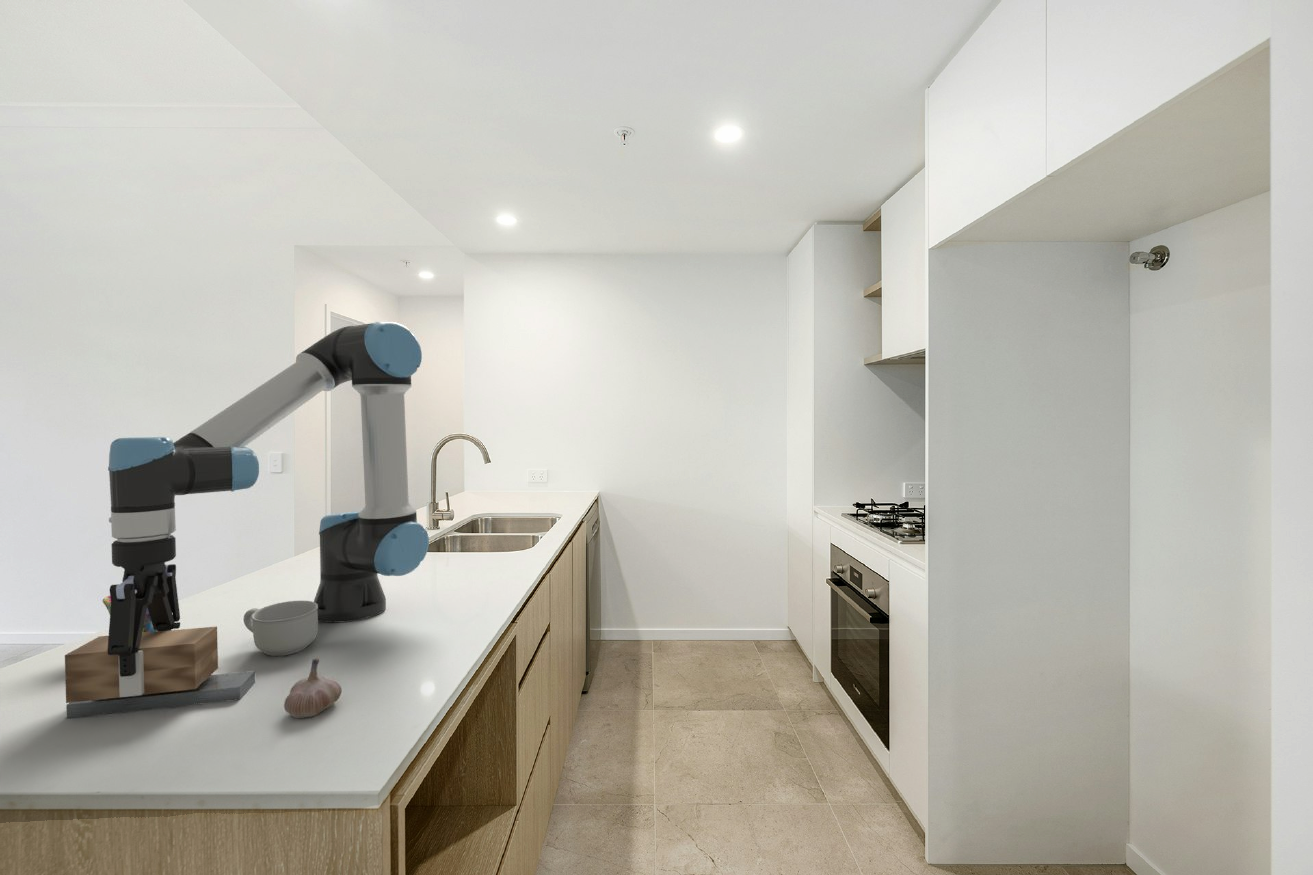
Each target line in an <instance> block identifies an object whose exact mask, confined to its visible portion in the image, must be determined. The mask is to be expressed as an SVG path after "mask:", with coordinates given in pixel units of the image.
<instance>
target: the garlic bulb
mask: <svg viewBox="0 0 1313 875" xmlns="http://www.w3.org/2000/svg"><path fill="white" fill-rule="evenodd" d="M319 663H320V658H319V657H313V658H312V660H311V666H310V671H309V675H307V677H306V676H305V677H304V678H301V679H300V680H298V681H297V682H295V684H294V685H293V686H292V687H291V688H290V691H289V694H288V695H287V696H286V698H285V700H284V704H283V707H284V710H285V712H286V713H287V714H289V715H290V716H291V717H293V718H295V719H296V718H297V719H302V718H307V717H308V718H309V717H311V718H312V717H315V716H317V715H318V714H319V715H320V714H321V713H322V712H323V711H324V710H326V708H329V707H330V706H333V704H335V702H337V701H338V700H339V698H340V697H341V695H342V686H341V684H340V683H339V682H338V681H336V680H335V679H331V678H327V677H325V676H322V675H320V674H319V675H318V666H319Z"/></svg>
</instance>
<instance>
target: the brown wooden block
mask: <svg viewBox="0 0 1313 875" xmlns="http://www.w3.org/2000/svg"><path fill="white" fill-rule="evenodd" d="M108 637H109V635H100V636H98V637H96V638H94V639H92V640H89V641H88V642H86V643H84V644H82V645H81V646H79V647H78V648H76V649H73V650H72V651H70V652H68V653H66V654H65V655H64V673H65V674H64V676H65V703H66V704H68V703H71V702H81V701H90V700H99V699H108V698H118V697H120V694H119V656H118V655H108V653H107V650H108ZM218 646H219V644H218V626H207V627H205V626H204V627H194V628H185V629H171V630H169V631H157V632H146V633H142V637H141V642H140V647H139V650H143V661H144V694H142V695H145V694H155V693H164V692H173V691H182V690H191V689H196V688H197V687H198V686H199V685H200V684H202V683H203V682H204V681H205V680H206V679H207V678H208V677H209V676H210V675H214V673H215V672H216V671H217V670H218V669H219V653H218V652H219V650H218V649H219V648H218Z"/></svg>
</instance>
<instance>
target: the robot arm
mask: <svg viewBox="0 0 1313 875" xmlns="http://www.w3.org/2000/svg"><path fill="white" fill-rule="evenodd" d="M422 354H423V353H422V349H421V345H420V343H419V340H418V339H417V337H416V336H415V334H413V333H412V331H411V330H410V329H409V328H407V327H406V326H405V325H403V324H400V323H398V322H393V321H390V322H389V321H375V322H370V323H366V324H365V323H364V324H358V325H349V326H344V327H343V326H342V327H341V328H338V329H336V330H334V331H332V332H330V333H328V334H327V335H326V336H323V338H321V339H319V340H318V341H316V342H315V343H313V344H312V345H310V346H309V347H307V348H306V349H305V350H302V351H301V352H300V353H299V354H297V355H296V356H295V362H294V363H293V364H291V365H289V366H288V367H286V369H284V370H281V371H280V372H279V373H278V374H276V375H275V376H273V377H272V378H270V379H269V380H267V381H266V382H265V381H264V383H262V384H261V385H259V386H258V387H256V388H255V389H254V390H252V391H250V392H249V393H247V394H246V395H244V396H243V397H242V398H239V399H238V400H237V401H235V402H234V403H232V404H231V405H229V406H227V407H226V408H225V409H223V410H221V411H220V412H219V413H218V414H216V415H214V416H213V417H211V418H209V419H208V420H207V421H205V422H203V424H200V425H199V426H198V427H195V428H194V429H193V430H191V431H190V432H189V433H187V434H185V435H184V436H182V437H181V438H179V439H177V440H176V441H173V439H171V438H170V437H166V436H157V437H155V436H154V437H120V438H116V439H114V440H113V441H112V442H111V444H110V446H109V456H108V467H107V470H108V474H109V475H108V476H109V492H110V517H109V518H108V522H109V523H110V524H111V525H110V526H111V537H112V538H113V539H116V540H113V542H112V543H111V564H112V565H113V566H114V567H118V568H119V567H120V568H122V569H124V571H123V577H122V582H121V583H120V584H118V583H117V584H111V585H110V587H109V596H110V597H111V610H110V614H109V625H108V626H109V628H108V636H109V637H108V650H107V653H108V655H118V656H119V694H120V697H128V696H137V695H142V694H144V661H143V650H139V647H140V642H141V637H142V632H143V626H144V621H145V616H146V610H147V608H148V612H149V615H150V618H151V621H152V625H153V628H154V630H157V631H169V630H179V628H180V627H181V622H179V621H180V620H181V615H180V614H181V612H180V604H179V597H178V587H177V579H176V577H177V576H176V575H177V574H176V573H177V565H176V564H174V563H173V564H172V563H171V564H166V563H167V562H171V561H172V560H174V559H176V557H177V545H176V537H175V536H174V535H173V533H175V532H176V531H177V528H176V526H177V525H176V503H175V496H186V495H195V494H207V493H221V492H230V493H231V492H232V493H233V492H234V491H240V490H246V489H250V488H252V487H253V486H254V485H255V484H256V482H257V481H258V479H259V475H260V474H259V473H260V463H259V459H258V457H257V454H256V453H255V452H254V450H252V449H251V448H249V447H247V446H248V445H249V444H250V443H252V442H254V441H255V440H256V439H257V438H259V437H260V436H261V435H263V434H265V432H267V431H269V430H270V429H271V428H272V427H274V426H275V425H277V424H278V423H280V422H281V421H282V420H284V419H285V418H286V417H288V416H289V415H290V414H292V413H293V412H295V411H296V410H298V408H300V407H302V406H303V405H305V404H306V403H308V402H309V401H310V400H311V399H313V398H314V397H316V396H317V395H318V394H320V393H321V392H330V391H332V390H334V389H335V388H336V387H338V386H340V385H342V384H344V383H347V382H350V381H351V387H352V388H353V389H354V390H355V391H356V392H358V394H359V395H360V411H361V413H360V414H361V415H360V416H361V437H362V440H361V441H362V460H363V461H362V462H363V463H362V464H363V479H364V480H363V482H364V501H365V502H364V504H365V506H364V507H363V509H361V510H355V511H348V512H340V513H334V514H333V513H332V514H327V515H325V516H323V517H322V518H321V519H320V522H319V524H320V525H319V531H318V535H319V566H320V568H319V569H320V570H319V571H320V572H319V574H320V581H319V586H318V588H317V590H316V594H315V595H314V600H313V602H315V603H317V605H318V609H317V613H318V622H321V623H344V622H345V623H346V622H352V621H359V620H363V619H368V618H370V617H374V616H376V615H378V614H381V613H382V612H384V611H385V610H386V609H387V599H386V595H385V592H384V590H383V587H382V585H381V581H380V578H379V576H378V575H379V574H380V575H381V576H385V577H390V576H391V577H392V576H393V577H400V576H401V577H402V576H405V575H407V574H411V573H412V572H413V571H415V570H416V569H417V568H418V567H419V566H420V565H421V562H423V561H424V559H425V557H426V555H427V553H428V550H429V546H430V545H429V544H430V538H429V537H430V536H429V534H428V531H427V529H426V528H424V526H423V525H421V524H420V523H419V522H418V519H417V516H418V515H417V509H416V508H415V507H414V506H412V505H411V504H410V503H409V481H408V480H409V479H408V455H407V433H406V430H407V429H406V410H405V409H406V408H405V407H406V405H405V404H406V403H405V394H406V393H407V391H408V390H409V389H410V388H412V376H413V375H414V374H415V373H416V372H417V371H418V368H420V367H421V363H422V359H423V358H422ZM141 599H142V600H141Z"/></svg>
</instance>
